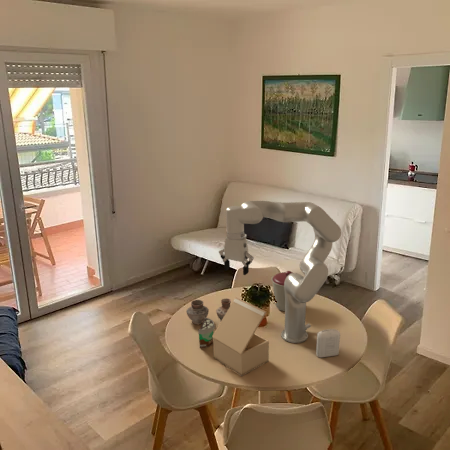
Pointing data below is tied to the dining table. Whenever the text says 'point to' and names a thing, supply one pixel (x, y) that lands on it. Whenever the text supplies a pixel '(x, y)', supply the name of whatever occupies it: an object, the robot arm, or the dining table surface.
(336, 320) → the dining table surface
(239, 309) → the carton lid
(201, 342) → the food container
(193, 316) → the pottery
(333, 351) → the photo printer
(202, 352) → the dining table surface
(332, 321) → the dining table surface
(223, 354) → the carton
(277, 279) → the canister
